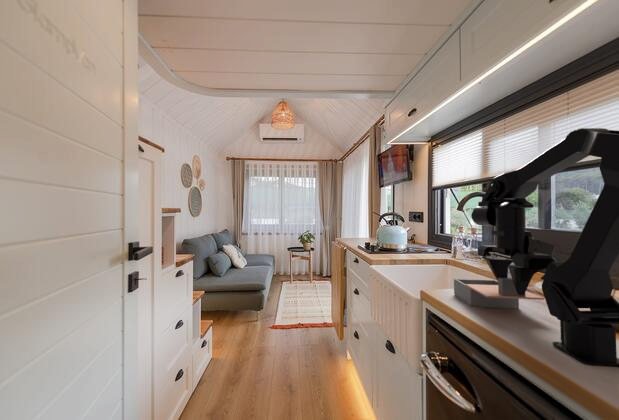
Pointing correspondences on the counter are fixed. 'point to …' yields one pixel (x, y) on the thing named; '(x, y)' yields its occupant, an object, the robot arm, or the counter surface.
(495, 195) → the robot arm
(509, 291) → the lid
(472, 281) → the grey open tray
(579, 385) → the counter surface
